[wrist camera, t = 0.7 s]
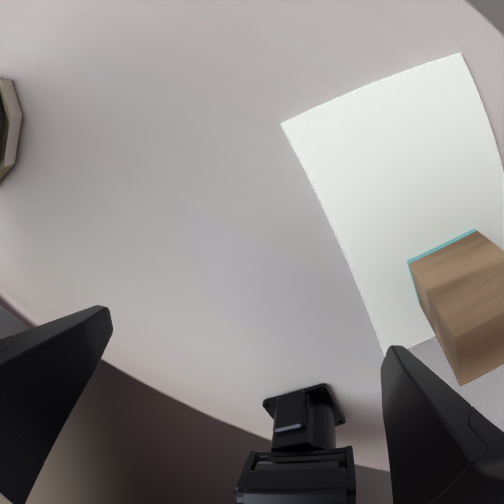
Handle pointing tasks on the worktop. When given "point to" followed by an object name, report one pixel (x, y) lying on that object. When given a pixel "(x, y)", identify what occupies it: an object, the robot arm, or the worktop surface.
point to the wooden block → (464, 301)
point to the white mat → (402, 181)
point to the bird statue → (8, 125)
